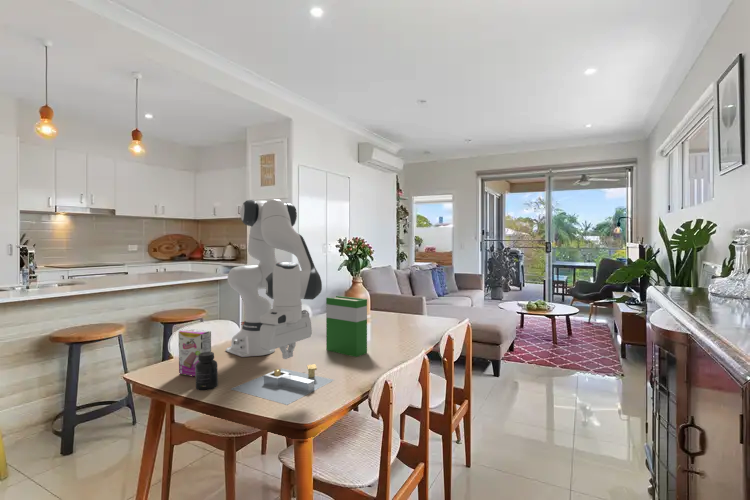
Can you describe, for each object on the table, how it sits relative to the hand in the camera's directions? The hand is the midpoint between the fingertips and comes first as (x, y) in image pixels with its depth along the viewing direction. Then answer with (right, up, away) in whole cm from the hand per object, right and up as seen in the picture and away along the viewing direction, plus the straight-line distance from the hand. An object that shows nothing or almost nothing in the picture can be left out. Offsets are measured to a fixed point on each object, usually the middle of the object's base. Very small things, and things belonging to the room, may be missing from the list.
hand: (287, 357), depth 122 cm
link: (-1, -12, +9) cm, 15 cm away
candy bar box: (-40, -13, +22) cm, 47 cm away
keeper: (+5, -12, +17) cm, 21 cm away
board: (-4, -13, +10) cm, 17 cm away
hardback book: (+15, -12, +52) cm, 56 cm away
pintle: (-6, -12, +12) cm, 18 cm away
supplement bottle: (-29, -13, +8) cm, 33 cm away
